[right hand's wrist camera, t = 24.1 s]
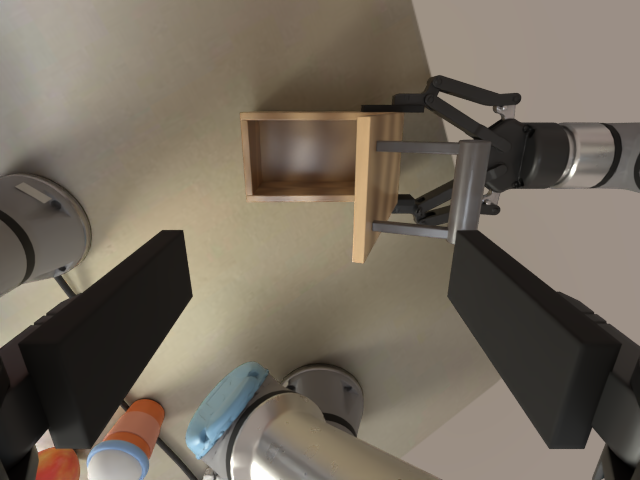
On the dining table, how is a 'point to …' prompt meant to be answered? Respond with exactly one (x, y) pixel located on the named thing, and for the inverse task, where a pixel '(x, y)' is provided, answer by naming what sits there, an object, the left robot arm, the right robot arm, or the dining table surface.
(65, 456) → the apple
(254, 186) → the chest
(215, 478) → the toy gun
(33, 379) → the right robot arm
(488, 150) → the lid
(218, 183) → the dining table surface
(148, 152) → the dining table surface
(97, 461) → the cup with straw
